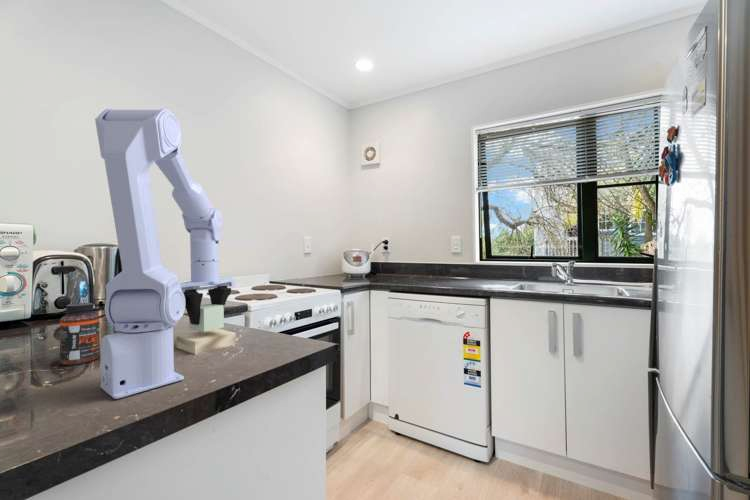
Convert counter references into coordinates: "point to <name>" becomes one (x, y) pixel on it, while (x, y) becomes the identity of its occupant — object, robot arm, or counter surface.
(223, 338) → the maple slab
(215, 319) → the sage cube
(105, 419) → the counter surface
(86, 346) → the supplement bottle
